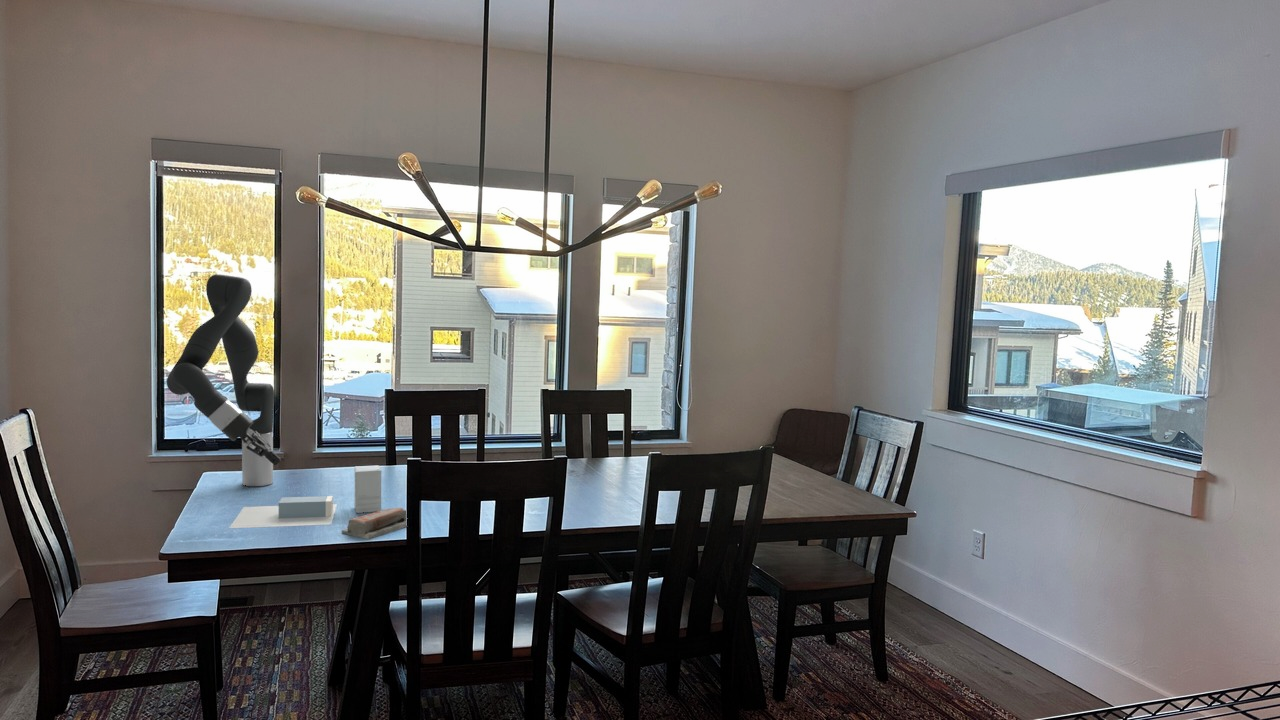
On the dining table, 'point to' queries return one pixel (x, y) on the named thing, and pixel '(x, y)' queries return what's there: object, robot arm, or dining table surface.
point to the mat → (274, 518)
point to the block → (305, 507)
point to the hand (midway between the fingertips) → (278, 462)
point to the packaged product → (377, 523)
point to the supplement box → (367, 489)
